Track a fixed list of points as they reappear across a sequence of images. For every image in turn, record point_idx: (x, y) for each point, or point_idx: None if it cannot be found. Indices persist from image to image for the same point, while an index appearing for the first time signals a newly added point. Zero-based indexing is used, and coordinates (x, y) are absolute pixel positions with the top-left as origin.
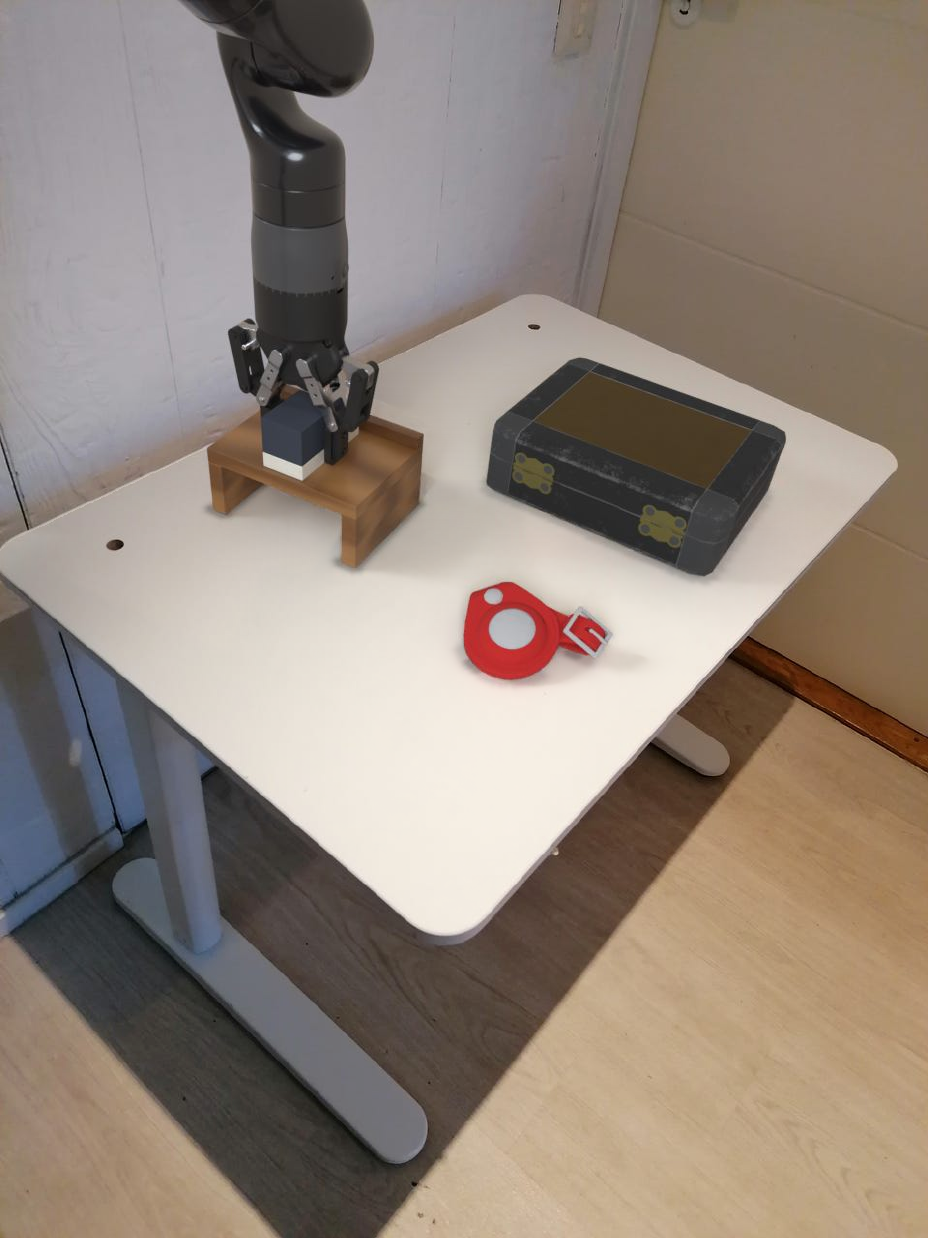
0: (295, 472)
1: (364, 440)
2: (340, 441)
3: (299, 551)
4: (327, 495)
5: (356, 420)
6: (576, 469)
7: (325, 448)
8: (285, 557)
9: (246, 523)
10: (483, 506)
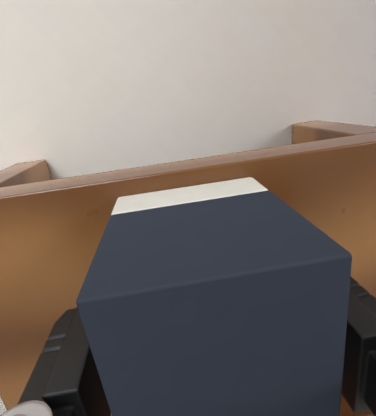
0: (138, 199)
1: None
2: (32, 377)
3: (123, 135)
4: (11, 195)
5: None
6: None
7: None
8: (129, 104)
9: (247, 131)
10: None
